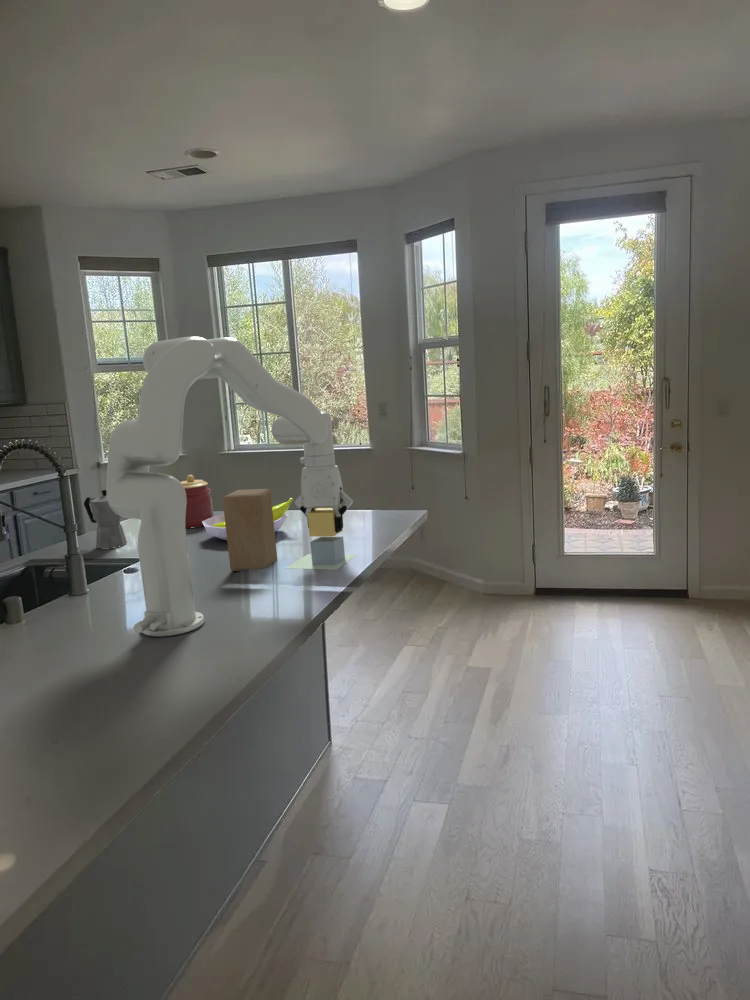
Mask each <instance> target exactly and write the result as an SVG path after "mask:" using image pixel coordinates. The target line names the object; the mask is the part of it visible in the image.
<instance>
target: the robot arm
mask: <svg viewBox="0 0 750 1000" xmlns="http://www.w3.org/2000/svg"><path fill="white" fill-rule="evenodd" d="M142 364H143V367H144V370H145V371H146V373H147V374H146V376H145V378H144V380H143V383H142V386H141V390H140V396H139V405H138V406H139V407H138V417H137V418H131V419H126V420H125V421H122V422H120V423H119V424H118V425H117V426H115V428H114V430H113V431H112V434H111V435H110V438H109V443H108V450H107V451H108V452H107V467H106V468H107V469H106V470H107V472H106V489H105V490H106V491H107V500H108V503H109V506H110V508H111V509H112V511H113V512H114V513H116V514H117V515H119V516H121V518H124V519H132V520H140V526H139V530H138V534H137V551H138V560H139V565H140V573H141V581H142V582H141V583H142V589H143V595H144V602H145V609H146V611H144V612H143V615H144V616H143V617H144V618H142V620H140V621H139V622H137V623H136V624H134V626H133V630H134V632H136V633H137V634H140V633H141V634H143V635H145V636H148V637H171V636H176V635H181V634H185V633H189V632H191V631H194V630H196V629H198V628H199V627H202V625H203V624H204V623H205V617H204V614H203V613H201V612H199V611H196V605H195V596H194V589H193V581H192V573H191V565H190V563H191V562H190V557H189V547H188V539H187V530H186V527H185V518H186V505H187V497H186V492H185V489H184V487H183V485H182V484H181V482H182V481H180V480H179V479H178V478H176V477H174V476H173V475H170V474H167V473H163V472H150V468H151V467H163V466H164V467H165V466H169V465H170V466H171V465H172V464H174V463H175V462H177V461H178V459H179V457H180V456H181V453H182V444H183V443H182V442H183V431H184V430H183V427H184V414H185V413H184V412H185V411H184V410H185V402H186V398H187V395H188V392H189V390H190V388H191V387H192V385H193V384H194V383H195V382H196V381H198V380H205V379H217V378H219V379H221V380H223V382H225V383H226V384H227V386H229V387H230V389H231V390H232V391H233V392H235V393H236V394H237V396H238V397H239V398H240V399H241V400H242V401H243V402H244V403H245V405H247V406H248V407H251V408H253V409H256V410H258V411H262V412H265V413H267V414H273V415H276V416H279V417H277V418H276V419H274V421H273V422H272V426H271V435H272V437H273V439H274V441H276V442H277V443H278V444H281V445H284V446H303V454H304V455H303V457H300V458H299V462H300V464H304V466H305V467H302V468H301V476H300V495H299V496H298V497H297V498H296V500H294V505H295V506H296V507H297V508H298V509H299V510H300V511H301V512H302V514H304V516H305V517H306V518H307V519H306V520H307V527H308V529H309V523H308V513H309V512H311V511H313V510H315V509H316V508H332V509H333V511H334V513H335V515H336V517H334V521H335V532H336V533H338V532H340V531H341V532H343V531H342V530H343V528H344V519H343V515H344V514H345V513H346V512H347V510H349V507H351V505H352V504H353V503H354V500H353V499H352V498H351V497H350V496H349V495H348V494H347V493H346V492H345V491H344V487H343V483H342V477H341V473H340V470H339V466H338V465H336V457H335V444H334V433H333V432H334V431H333V420H332V416H331V413H329V412H328V411H321V410H320V409H319V408H318V407H317V406H316V405H315V404H314V402H313V401H312V400H310V399H309V398H308V396H306V395H304V394H303V393H301V392H299V391H297V390H295V389H294V388H292V387H290V386H289V385H287V384H285V383H283V382H281V381H279V380H277V379H276V378H274V377H273V376H272V375H271V373H269V371H268V370H267V369H266V368H265V367H264V366H263V365H262V363H260V361H259V360H258V359H257V358H256V357H255V356H254V354H252V352H251V351H250V350H249V349H248V347H246V346H245V344H244V343H242V342H241V341H240V340H239V339H237V338H235V337H229V336H228V337H227V336H225V337H216V338H209V339H206V338H204V337H200V336H194V335H193V336H184V337H176V338H172V339H171V338H169V339H164V340H159V341H155V342H153V343H151V344H149V345H148V346H147V347H146V349H145V351H144V353H143V356H142ZM342 503H343V505H341V504H342ZM341 532H340V533H341ZM338 534H339V533H338Z"/></svg>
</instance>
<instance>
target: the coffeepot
mask: <svg viewBox="0 0 750 1000" xmlns="http://www.w3.org/2000/svg"><path fill="white" fill-rule="evenodd" d="M83 506H84V508H85V510H86V513H87V515H88V518H89V520H90V523H93V524H96V523H97V527H96V543H95V548H97V547H98V548H113V547H118V548H120V547H119V546H122V547H124V546H126V545H127V543H128V541H127V538H126V535H125V531H124V528H123V526H122V524H121V518H122V517H121V516H119V515H117V514H116V513H114V512H113V511H112V509H111V508H110V506H109V503H108V500H107V491H106V489H102V490H101V496H99V497H91V496H89V497H88V496H87V497H86V498H85V499H84V501H83ZM125 544H126V545H125ZM123 545H124V546H123ZM98 548H97V549H98ZM113 549H114V548H113Z"/></svg>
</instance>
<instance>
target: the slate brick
mask: <svg viewBox="0 0 750 1000" xmlns="http://www.w3.org/2000/svg"><path fill="white" fill-rule="evenodd" d="M309 543H310V554H311V555H312V565H337V564H338V563H339V562H341V561H342V560H344V559H345V555H346V554H345V546H344V545H345V542H344V536H343V535H335V536H333V537H320V536H316V538H314V539H312V540H311V541H310V542H309Z"/></svg>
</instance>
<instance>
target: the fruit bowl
mask: <svg viewBox="0 0 750 1000" xmlns="http://www.w3.org/2000/svg"><path fill="white" fill-rule="evenodd" d="M293 501H295V499H294V498H292V497H290V498H289V500H288V501H285V502H282V503H279V504H277V505H274V506H272V512H273V522H274V532H277V531H279V530H281V528H282V526H283V524H285V521H286V520H287V518H288V514H287V513H286V512H287V510H288V509H290V507H291V504H292V503H293ZM202 523H203V525H204V528H205V530H206V533H207V534H208V535H209V536H212V537H215V538H217V539H221V540H224V541H227V534H226V526H225V517H224V513H223V514H219V515H214V517H212V518H209V519H207V520H204V521H202Z"/></svg>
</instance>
